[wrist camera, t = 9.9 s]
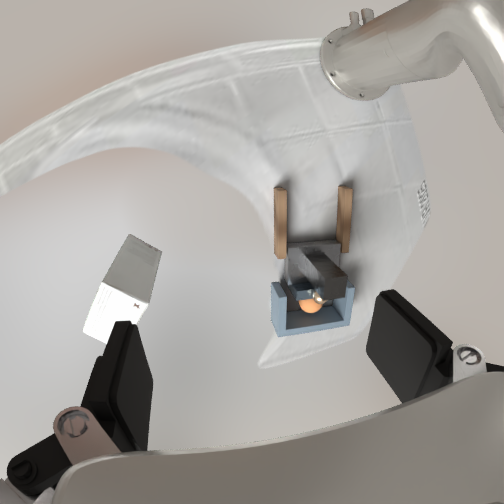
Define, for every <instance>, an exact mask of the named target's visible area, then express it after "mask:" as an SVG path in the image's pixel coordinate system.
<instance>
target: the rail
mask: <svg viewBox="0 0 504 504" xmlns="http://www.w3.org/2000/svg"><path fill="white" fill-rule="evenodd" d="M352 193H353V189H352V188H349V187H346V186H338V210H337V229H336V240H337V241H338V242H339V243H340V244H341V247H340V252H341V253H347V252H349V241H350V228H351V213H352ZM286 241H287V190H285V189H283V188H274V253H275V255H276V256H277V258H278V259H285V258H286Z"/></svg>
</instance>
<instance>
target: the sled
mask: <svg viewBox="0 0 504 504" xmlns="http://www.w3.org/2000/svg"><path fill="white" fill-rule="evenodd" d="M340 247H341V244H340V243H339V242H338V241H337V240H325V241H312V242H300V243H288V244H286V258H285V267H284V280H285V282H286V283H287V285H288V288H289V289H290V291H291V293H292V295H293V296H294V298H295V300H296V301H299V300H306V299H313V300H314V301H315V302H316V303H317V304H324V303H325V302H327V300H332V299H339V298H345V294H346V286H347V277H348V276H347V275H346V274H345V273H344V272H343V271H342V270H341V269H340V268H339V260H340Z"/></svg>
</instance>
